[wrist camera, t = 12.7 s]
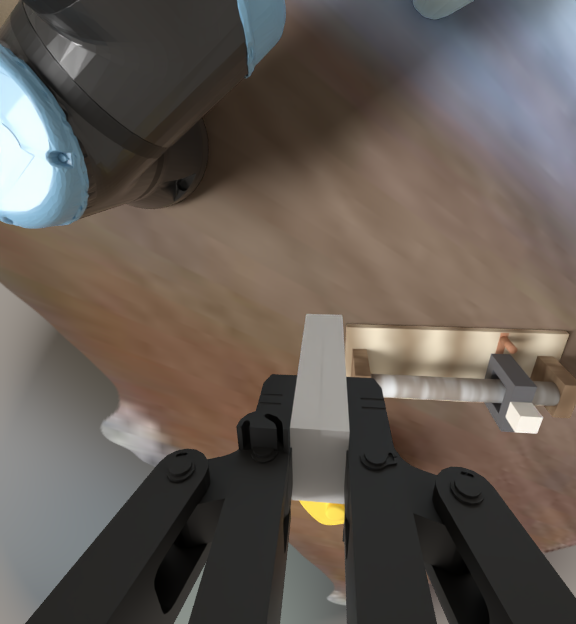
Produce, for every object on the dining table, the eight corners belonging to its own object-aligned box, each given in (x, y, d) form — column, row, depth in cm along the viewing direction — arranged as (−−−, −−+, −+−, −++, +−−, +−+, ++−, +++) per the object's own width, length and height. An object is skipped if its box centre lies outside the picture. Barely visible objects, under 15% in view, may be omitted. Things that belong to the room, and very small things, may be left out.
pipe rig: (342, 391, 56) (344, 425, 49) (346, 323, 51) (348, 352, 44) (539, 401, 53) (569, 439, 46) (564, 330, 48) (603, 362, 41)
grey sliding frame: (479, 395, 51) (509, 446, 42) (491, 353, 48) (525, 400, 39) (497, 396, 50) (531, 448, 42) (510, 354, 47) (549, 401, 39)
